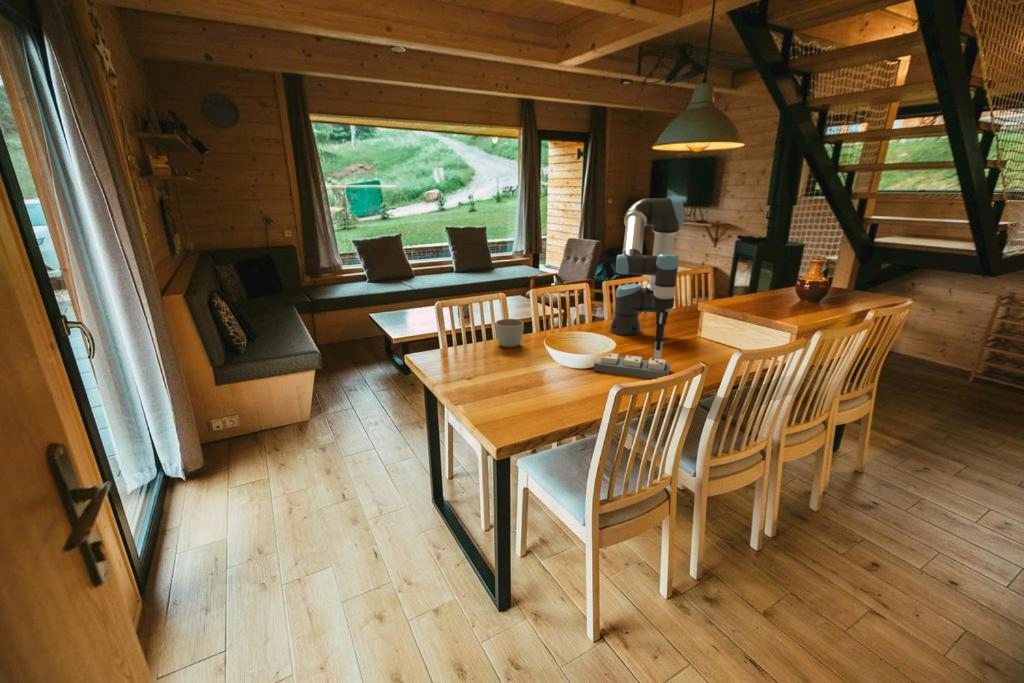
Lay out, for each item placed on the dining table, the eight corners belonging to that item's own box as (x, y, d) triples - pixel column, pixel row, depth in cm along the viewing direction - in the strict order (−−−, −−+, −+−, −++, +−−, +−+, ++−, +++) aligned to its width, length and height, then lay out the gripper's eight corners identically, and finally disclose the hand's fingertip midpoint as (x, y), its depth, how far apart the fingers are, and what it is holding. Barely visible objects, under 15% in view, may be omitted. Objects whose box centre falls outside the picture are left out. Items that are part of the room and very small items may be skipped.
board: (599, 361, 195) (599, 354, 194) (670, 370, 186) (670, 363, 185) (593, 370, 185) (594, 363, 184) (668, 380, 176) (669, 373, 175)
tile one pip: (603, 358, 191) (603, 351, 191) (618, 360, 189) (618, 353, 189) (600, 363, 186) (601, 356, 185) (615, 365, 184) (616, 358, 183)
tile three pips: (649, 363, 185) (649, 357, 185) (664, 365, 183) (665, 359, 183) (647, 369, 180) (648, 362, 179) (663, 371, 178) (664, 364, 177)
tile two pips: (625, 361, 188) (626, 354, 188) (641, 362, 186) (641, 356, 186) (623, 366, 183) (624, 359, 182) (639, 368, 181) (640, 361, 180)
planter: (525, 341, 219) (525, 319, 216) (520, 350, 207) (521, 327, 204) (499, 340, 221) (498, 318, 218) (493, 349, 209) (493, 325, 206)
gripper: (654, 292, 180) (648, 350, 187) (651, 299, 168) (645, 361, 176) (675, 293, 177) (668, 352, 185) (673, 301, 166) (666, 364, 173)
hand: (657, 356), depth 180 cm, fingers closed
